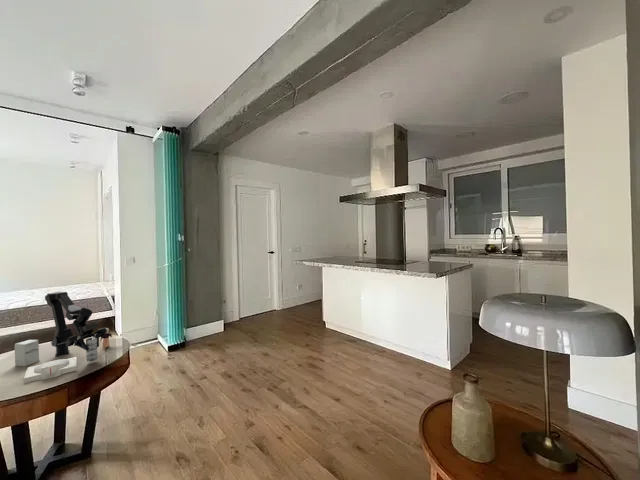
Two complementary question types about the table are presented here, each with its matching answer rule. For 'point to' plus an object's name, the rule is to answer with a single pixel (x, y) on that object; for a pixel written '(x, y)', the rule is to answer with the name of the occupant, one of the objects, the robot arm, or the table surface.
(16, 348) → the supplement box
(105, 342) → the grandmother figurine
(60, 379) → the table surface
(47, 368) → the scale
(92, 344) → the steel spacer stack
